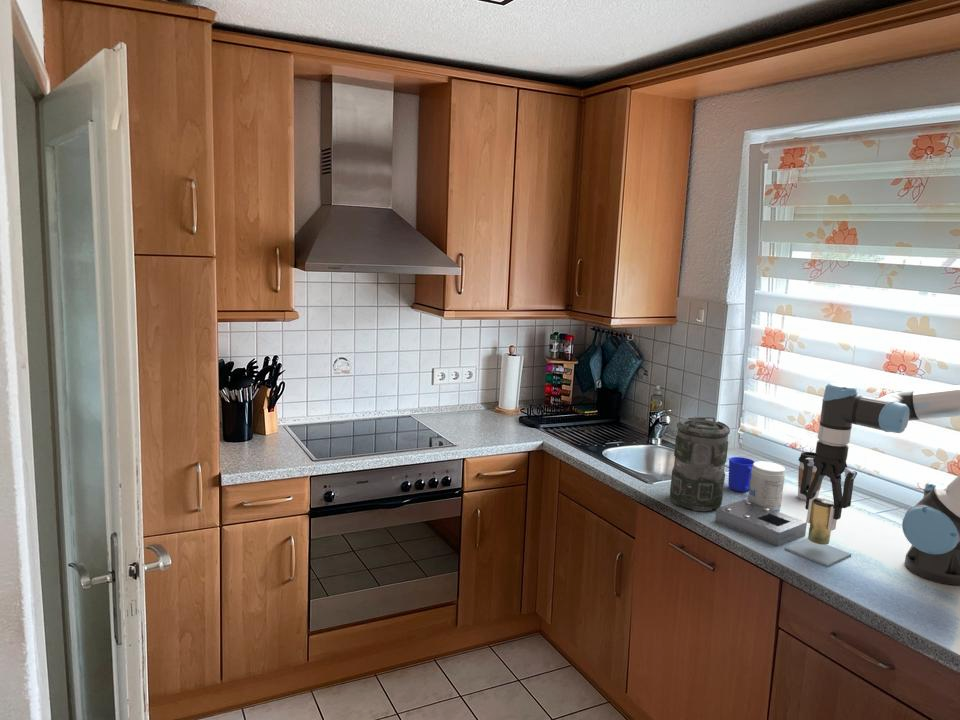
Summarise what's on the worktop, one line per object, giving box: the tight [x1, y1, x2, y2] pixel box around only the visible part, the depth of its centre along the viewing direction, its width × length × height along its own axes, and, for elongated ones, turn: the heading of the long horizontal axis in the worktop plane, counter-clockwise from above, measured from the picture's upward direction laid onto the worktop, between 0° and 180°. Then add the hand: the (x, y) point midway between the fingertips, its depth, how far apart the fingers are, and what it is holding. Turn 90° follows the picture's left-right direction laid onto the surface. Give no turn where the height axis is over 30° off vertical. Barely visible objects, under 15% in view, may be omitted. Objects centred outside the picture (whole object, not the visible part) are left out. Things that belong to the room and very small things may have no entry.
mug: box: [727, 456, 755, 493], centre depth 237 cm, size 8×12×10 cm
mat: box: [784, 537, 852, 567], centre depth 193 cm, size 12×12×1 cm
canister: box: [669, 416, 731, 512], centre depth 223 cm, size 16×16×28 cm
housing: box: [715, 499, 808, 547], centre depth 207 cm, size 20×14×4 cm
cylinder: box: [807, 497, 834, 545], centre depth 191 cm, size 5×5×11 cm
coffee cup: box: [797, 451, 824, 502], centre depth 233 cm, size 8×8×15 cm
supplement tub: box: [747, 460, 786, 513], centre depth 219 cm, size 10×10×15 cm
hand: (820, 525), depth 192 cm, fingers closed on cylinder, 5 cm apart
